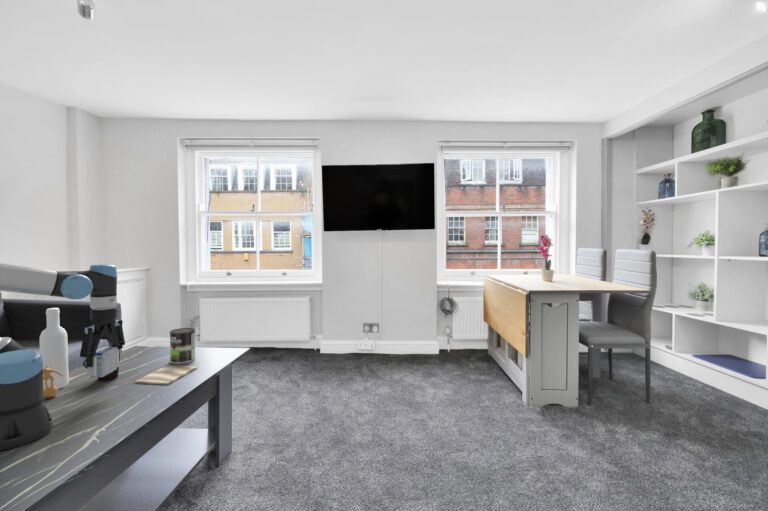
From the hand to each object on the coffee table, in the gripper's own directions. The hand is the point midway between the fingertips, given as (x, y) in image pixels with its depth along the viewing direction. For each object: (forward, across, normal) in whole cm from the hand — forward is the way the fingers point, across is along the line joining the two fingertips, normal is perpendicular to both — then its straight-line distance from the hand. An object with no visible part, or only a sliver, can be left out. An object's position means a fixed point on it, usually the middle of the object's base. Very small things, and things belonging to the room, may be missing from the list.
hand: (103, 370), depth 128 cm
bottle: (+10, +6, +26) cm, 28 cm away
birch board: (+9, +22, -8) cm, 25 cm away
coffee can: (+9, +40, -2) cm, 41 cm away
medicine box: (+1, 0, 0) cm, 1 cm away
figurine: (+10, -4, +18) cm, 20 cm away
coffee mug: (+9, +16, +15) cm, 23 cm away
